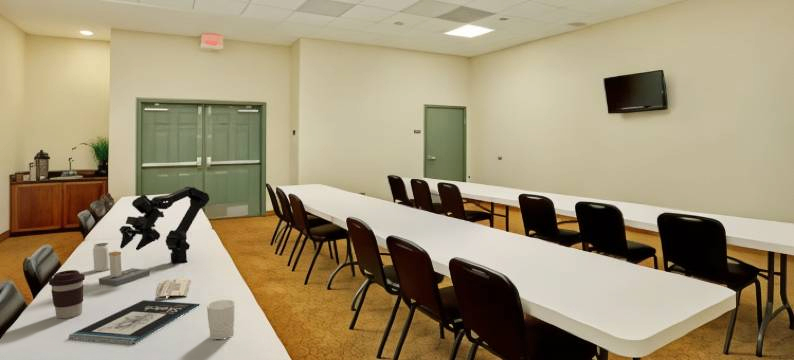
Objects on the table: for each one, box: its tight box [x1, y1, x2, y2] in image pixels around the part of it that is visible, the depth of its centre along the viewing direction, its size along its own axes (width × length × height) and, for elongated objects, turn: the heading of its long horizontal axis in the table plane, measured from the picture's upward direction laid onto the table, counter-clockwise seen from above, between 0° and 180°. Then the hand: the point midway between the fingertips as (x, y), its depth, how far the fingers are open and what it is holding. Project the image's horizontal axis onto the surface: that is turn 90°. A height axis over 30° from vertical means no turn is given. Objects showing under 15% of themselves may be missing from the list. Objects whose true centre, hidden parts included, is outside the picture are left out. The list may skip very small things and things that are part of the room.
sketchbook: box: [68, 299, 201, 346], centre depth 150 cm, size 23×32×2 cm
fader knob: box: [109, 251, 123, 277], centre depth 190 cm, size 3×3×10 cm
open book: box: [155, 278, 192, 301], centre depth 180 cm, size 23×12×2 cm, turn 20°
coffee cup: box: [48, 269, 86, 319], centre depth 154 cm, size 10×10×15 cm
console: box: [98, 267, 150, 287], centre depth 194 cm, size 16×10×2 cm, turn 161°
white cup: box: [206, 299, 235, 340], centre depth 138 cm, size 8×8×10 cm
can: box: [92, 242, 111, 272], centre depth 209 cm, size 6×6×12 cm
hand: (128, 248), depth 195 cm, fingers open, 9 cm apart
